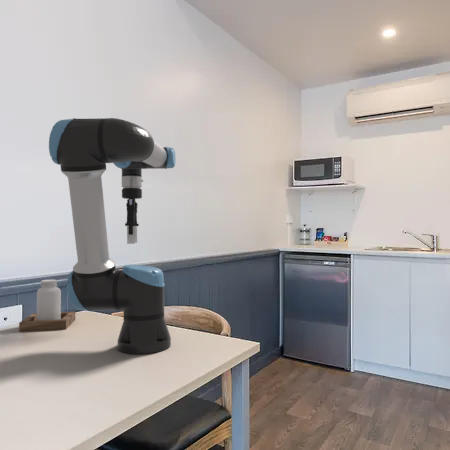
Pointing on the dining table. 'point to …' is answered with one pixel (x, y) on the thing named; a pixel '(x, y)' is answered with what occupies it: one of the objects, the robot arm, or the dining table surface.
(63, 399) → the dining table surface
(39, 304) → the pill bottle
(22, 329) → the tray
